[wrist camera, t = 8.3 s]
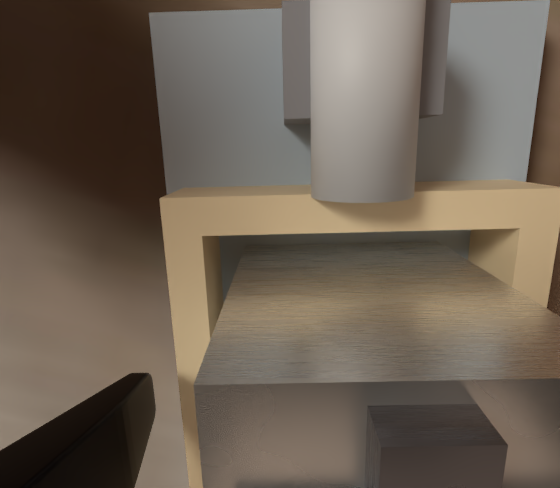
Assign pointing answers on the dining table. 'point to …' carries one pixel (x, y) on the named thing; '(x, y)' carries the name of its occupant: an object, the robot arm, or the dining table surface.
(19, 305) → the dining table surface
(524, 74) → the shaft bench
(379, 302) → the block
